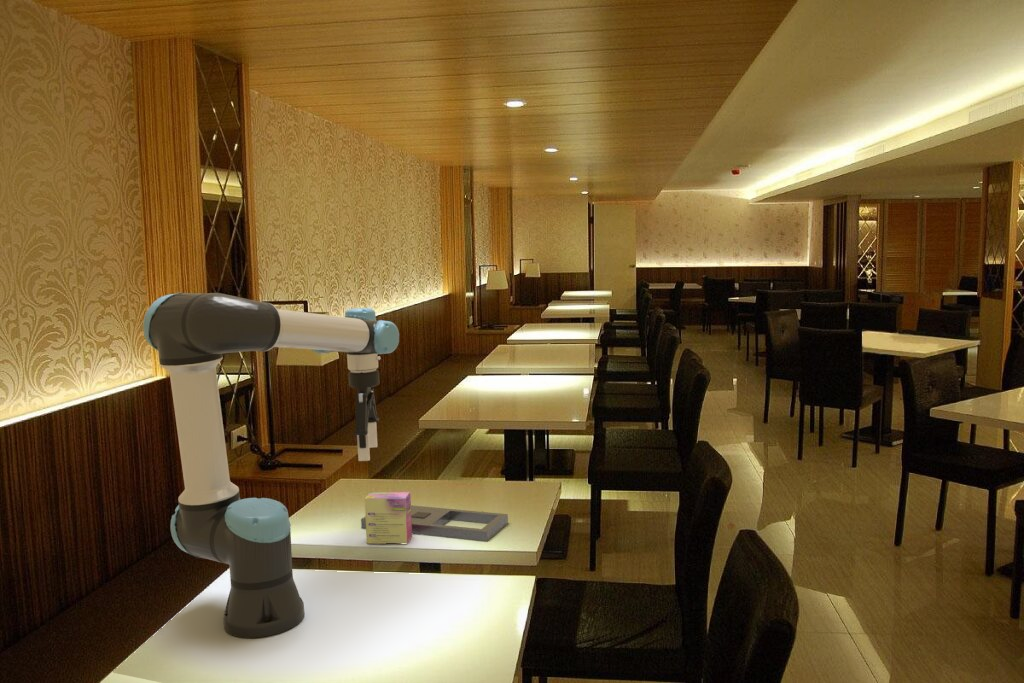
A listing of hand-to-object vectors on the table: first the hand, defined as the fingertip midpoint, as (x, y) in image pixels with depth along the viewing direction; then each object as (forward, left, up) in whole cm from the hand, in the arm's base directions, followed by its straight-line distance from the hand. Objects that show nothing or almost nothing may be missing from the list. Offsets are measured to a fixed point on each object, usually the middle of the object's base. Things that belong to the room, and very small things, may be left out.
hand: (368, 453), depth 201 cm
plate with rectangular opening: (+12, -11, -22) cm, 27 cm away
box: (-1, -5, -22) cm, 23 cm away
